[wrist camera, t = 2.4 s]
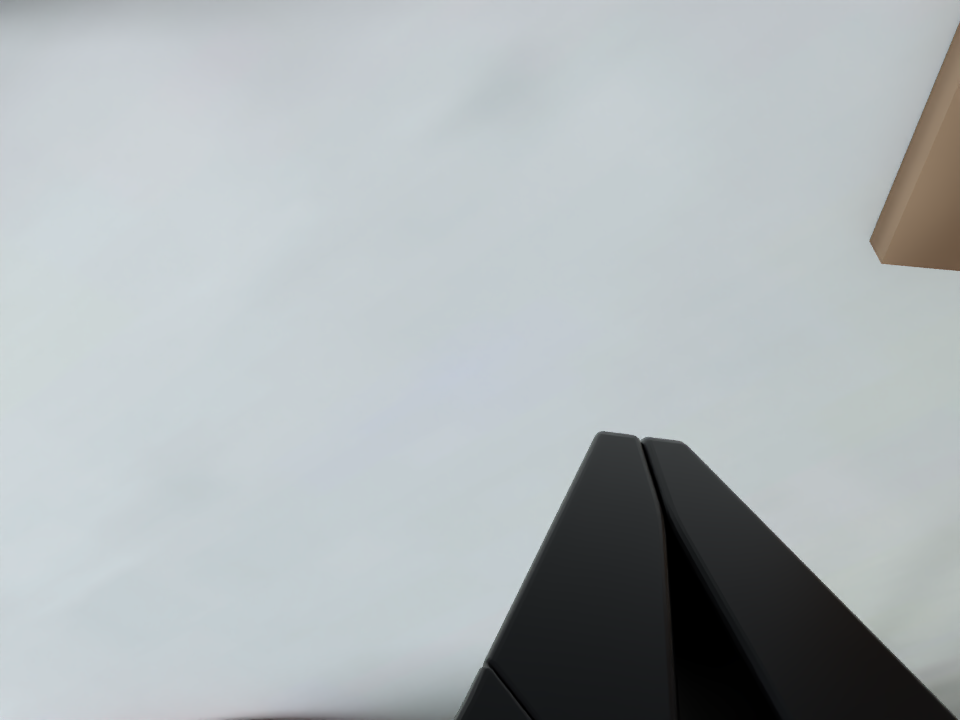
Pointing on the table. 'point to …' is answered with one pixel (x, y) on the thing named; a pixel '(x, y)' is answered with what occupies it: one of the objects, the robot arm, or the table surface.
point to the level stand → (927, 183)
